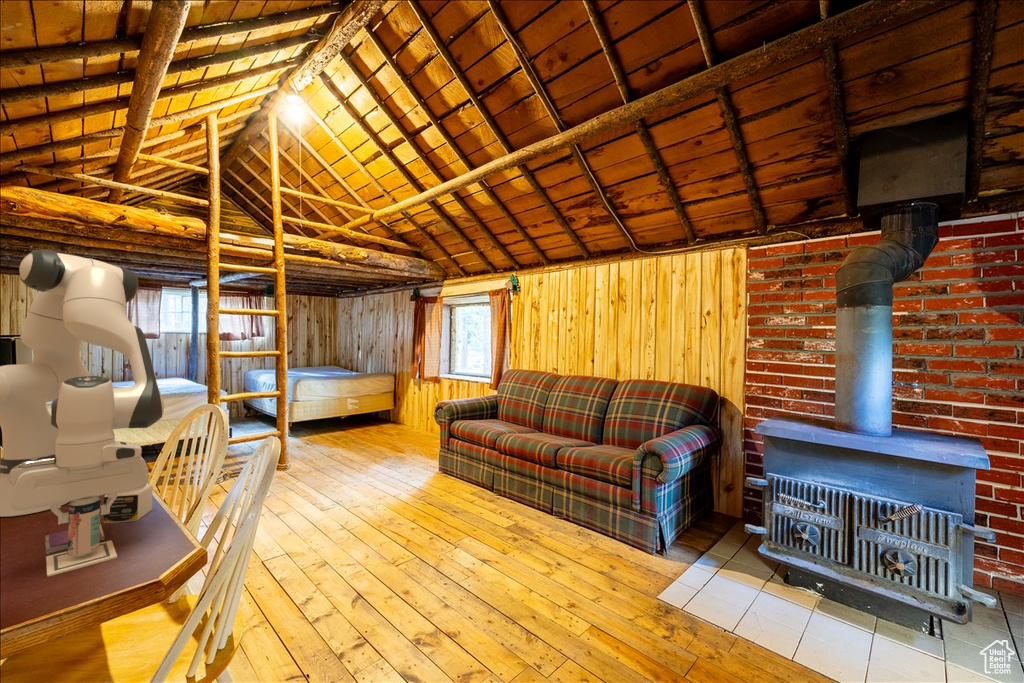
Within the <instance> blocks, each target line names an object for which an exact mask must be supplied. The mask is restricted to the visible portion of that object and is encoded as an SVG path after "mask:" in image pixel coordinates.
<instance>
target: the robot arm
mask: <svg viewBox="0 0 1024 683" xmlns="http://www.w3.org/2000/svg"><path fill="white" fill-rule="evenodd" d="M18 269H19V270H18V271H19V275H20V280H21V282H22V283H23V284H24V285H25V286H26V287H28V288H30V289H33V290H35V291H37V292H36V294H35V296H34V297H33V300H32V302H31V304H30V307H29V308H28V313H27V315H26V318H25V321H24V324H23V328H22V329H21V330H22V331H21V333H20V340H21V343H23V344H24V345H25V346H26V347H28V348H30V349H31V350H32V355H33V356H32V357H33V358H32V361H31V362H30V363H25V364H24V363H22V364H21V363H19V364H6V365H0V429H1V436H2V437H1V438H2V457H0V517H3V518H4V517H16V516H23V515H29V514H34V513H39V512H43V511H48V510H50V511H51V512H52V513H53V514H54V515H55V516H57V524H58V525H64V524H68V522H69V511H68V512H67V511H66V512H62V510H61V507H62V506H63V505H66V504H69V502H70V501H74V500H79V499H84V498H90V497H94V496H100V497H101V496H103V495H104V496H105V495H107V496H108V498H109V499H108V501H107V502H106V504H105V505H104V504H102V505H101V504H100V517H101V516H104V515H106V514H110V506H111V505H112V503H113V502H114V501H115V499H116V498H117V492H121V491H126V490H132V489H137V488H142V487H144V486H145V485H148V483H149V469H148V466H147V462H146V460H145V459H144V458H143V457H142V453H143V451H142V450H143V448H142V446H141V445H139V444H138V443H136V442H130V441H119V440H116V434H115V432H114V430H118V429H119V430H120V429H147V428H149V427H151V426H153V425H154V424H155V423H157V422H158V421H160V420H161V419H162V418H163V414H164V411H165V401H164V398H163V396H162V394H161V391H160V389H159V385H158V382H157V379H156V375H155V374H156V373H155V371H154V366H153V362H152V358H151V355H150V350H149V346H148V343H147V338H146V337H145V334H144V332H143V330H142V328H140V327H138V326H135V325H134V324H133V323H132V322H131V321H130V320H129V318H128V316H127V303H129V302H131V301H132V300H133V299H134V298H135V296H136V294H137V293H138V289H139V279H138V277H137V274H136V273H135V272H133V271H132V270H130V269H127V268H125V267H123V266H116V265H114V264H110V263H108V262H105V261H101V260H97V259H95V258H94V259H93V258H90V257H89V258H87V257H82V256H78V255H72V254H68V253H61V252H60V253H59V252H57V251H55V250H49V249H35V250H32V251H30V252H29V253H27V254H26V256H24V258H23V259H22V260H21V262H20V264H19V268H18ZM82 341H83V342H84V343H87V344H91V345H94V346H97V347H101V348H105V349H110V350H112V351H115V352H117V353H119V354H120V353H121V354H122V355H123V356H125V357H126V358H127V359H128V361H129V363H130V366H131V372H132V376H133V379H134V385H132V386H128V387H114V385H113V382H112V380H111V379H110V378H109V377H105V376H98V375H91V373H90V371H89V370H88V369H87V367H85V366H84V365H83V364H82V361H81V357H80V354H81V353H80V346H81V342H82ZM50 402H51V405H50V406H51V407H50V409H51V411H49V410H48V407H47V403H50ZM50 412H51V413H50Z"/></svg>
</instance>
